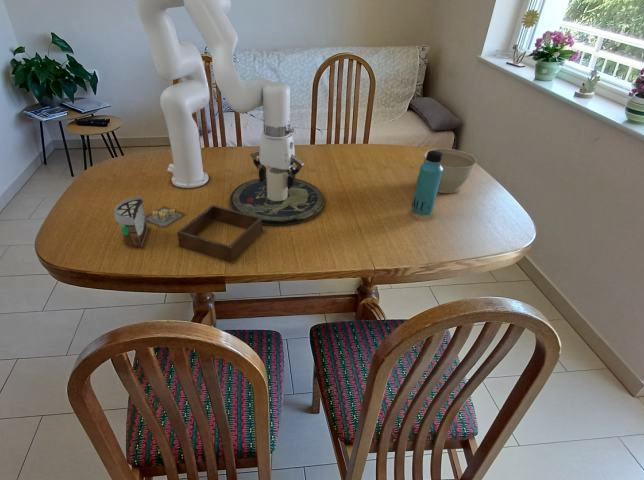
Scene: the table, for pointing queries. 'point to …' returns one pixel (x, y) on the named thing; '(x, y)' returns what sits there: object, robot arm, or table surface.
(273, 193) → the cup
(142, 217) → the food container
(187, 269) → the table surface
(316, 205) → the decorative plate
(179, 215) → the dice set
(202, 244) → the wooden box
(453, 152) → the planter bowl
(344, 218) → the table surface
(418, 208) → the beverage bottle
